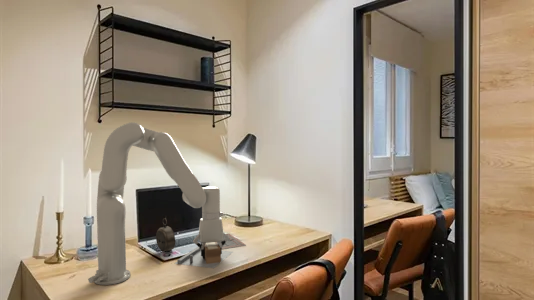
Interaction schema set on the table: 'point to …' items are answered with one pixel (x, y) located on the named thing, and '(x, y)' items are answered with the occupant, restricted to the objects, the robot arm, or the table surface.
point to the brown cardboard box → (212, 253)
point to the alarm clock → (165, 238)
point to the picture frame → (232, 242)
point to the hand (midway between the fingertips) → (211, 256)
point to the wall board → (199, 259)
